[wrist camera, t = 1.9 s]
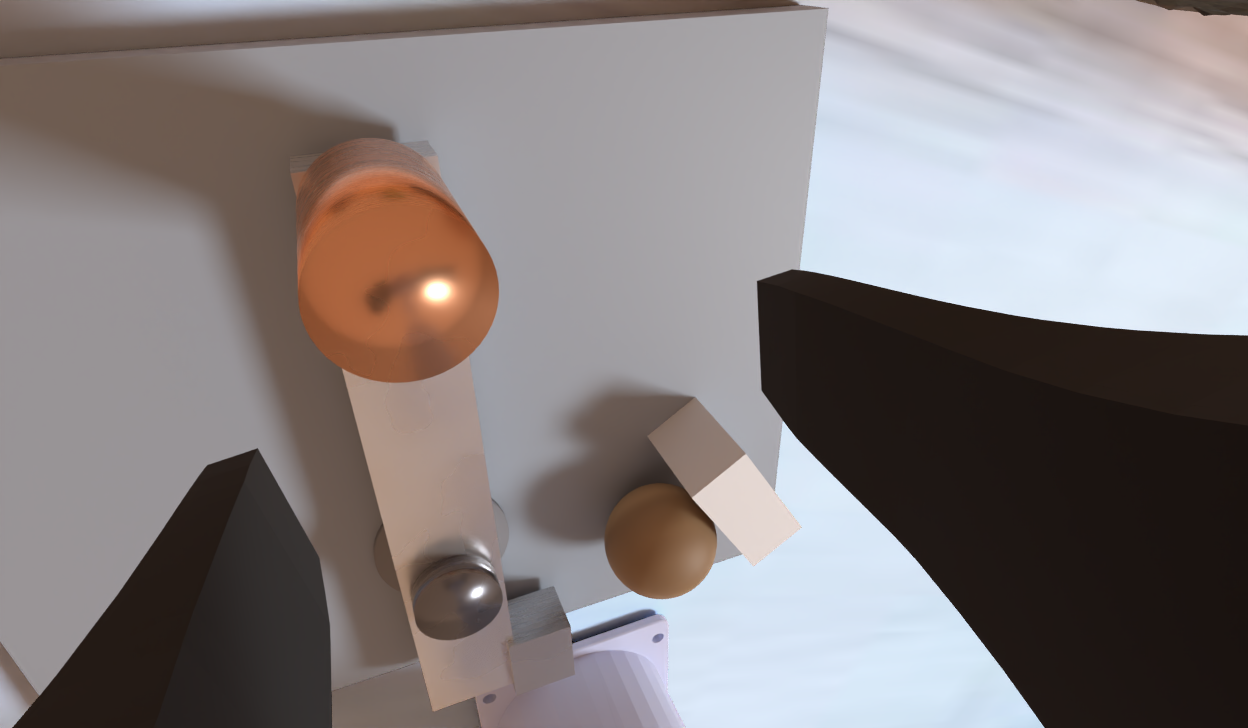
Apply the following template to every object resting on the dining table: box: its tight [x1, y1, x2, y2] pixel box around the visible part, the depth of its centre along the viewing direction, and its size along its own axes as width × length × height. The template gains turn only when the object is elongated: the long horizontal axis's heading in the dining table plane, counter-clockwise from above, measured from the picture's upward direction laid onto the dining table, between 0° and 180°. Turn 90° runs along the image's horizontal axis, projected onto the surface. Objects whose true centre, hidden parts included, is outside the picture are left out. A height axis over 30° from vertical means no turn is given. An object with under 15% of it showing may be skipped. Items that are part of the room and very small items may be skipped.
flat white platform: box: [0, 5, 829, 696], centre depth 19 cm, size 19×23×4 cm
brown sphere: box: [604, 483, 717, 599], centre depth 23 cm, size 4×4×4 cm
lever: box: [290, 138, 575, 712], centre depth 18 cm, size 18×5×6 cm, turn 1°
